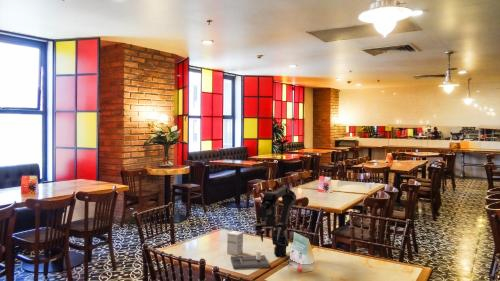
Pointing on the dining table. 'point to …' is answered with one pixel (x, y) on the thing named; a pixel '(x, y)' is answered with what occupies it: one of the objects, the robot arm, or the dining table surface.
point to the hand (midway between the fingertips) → (270, 241)
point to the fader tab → (258, 255)
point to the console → (249, 262)
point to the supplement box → (235, 242)
